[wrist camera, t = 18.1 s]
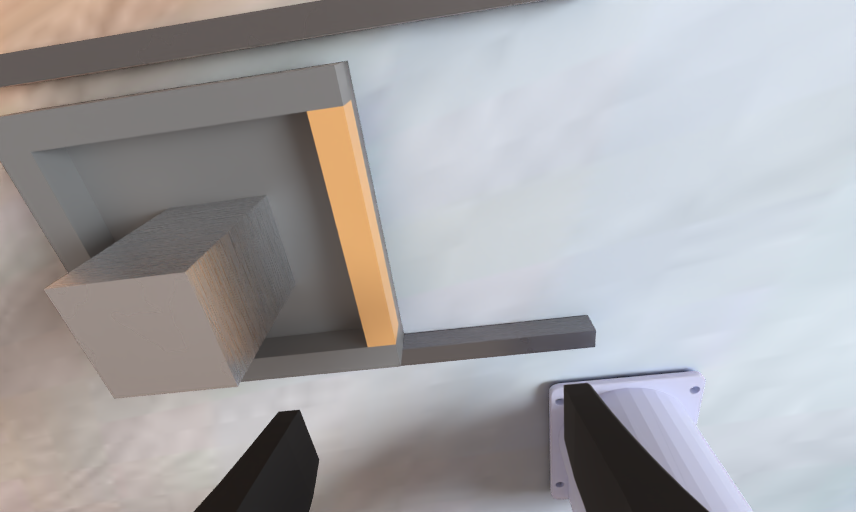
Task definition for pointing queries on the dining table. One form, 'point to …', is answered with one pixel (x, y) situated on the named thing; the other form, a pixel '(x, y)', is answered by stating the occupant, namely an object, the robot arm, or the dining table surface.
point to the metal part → (179, 298)
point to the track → (336, 13)
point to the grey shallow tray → (229, 196)
